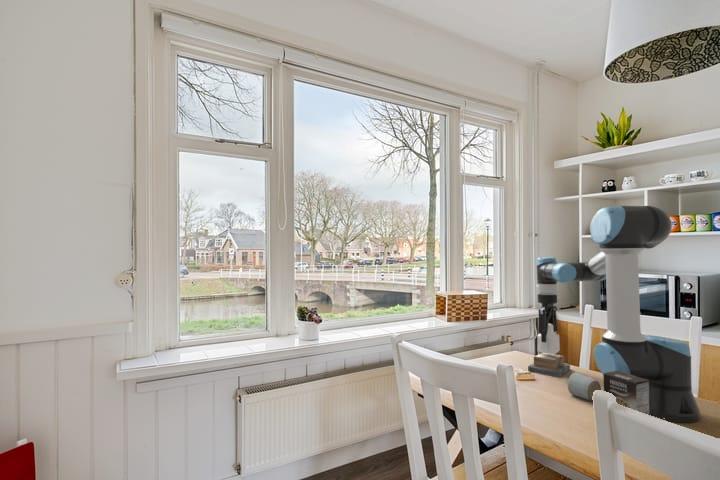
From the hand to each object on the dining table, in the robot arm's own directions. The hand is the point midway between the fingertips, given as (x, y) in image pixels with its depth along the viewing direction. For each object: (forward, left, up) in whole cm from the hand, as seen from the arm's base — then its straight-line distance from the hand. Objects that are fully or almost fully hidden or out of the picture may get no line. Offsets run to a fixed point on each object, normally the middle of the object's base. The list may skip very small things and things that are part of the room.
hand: (548, 347), depth 170 cm
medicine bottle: (0, 0, -2) cm, 2 cm away
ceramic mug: (-22, -21, -10) cm, 32 cm away
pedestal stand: (0, 0, -9) cm, 9 cm away
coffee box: (-45, -37, -10) cm, 59 cm away
